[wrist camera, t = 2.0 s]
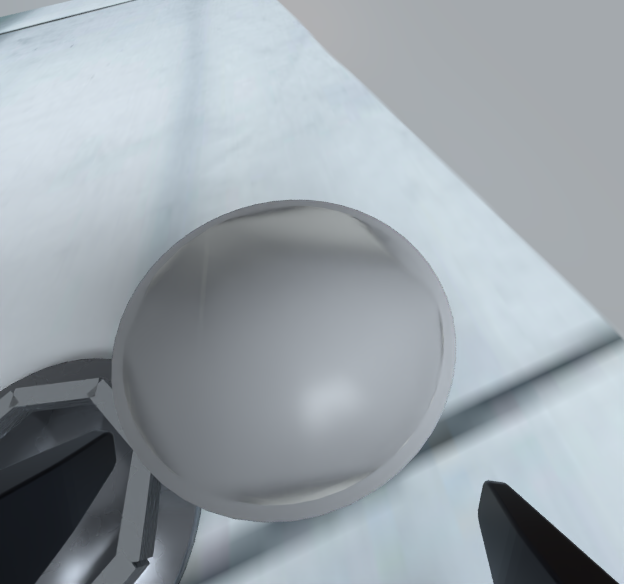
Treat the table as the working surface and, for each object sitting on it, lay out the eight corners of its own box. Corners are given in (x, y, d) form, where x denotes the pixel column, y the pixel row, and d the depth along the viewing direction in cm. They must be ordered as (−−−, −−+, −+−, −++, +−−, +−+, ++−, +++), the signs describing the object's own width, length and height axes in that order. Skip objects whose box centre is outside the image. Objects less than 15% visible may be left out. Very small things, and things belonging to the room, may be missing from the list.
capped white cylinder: (329, 537, 15) (301, 655, 4) (232, 441, 17) (47, 348, 6) (404, 420, 17) (516, 289, 6) (309, 349, 20) (271, 165, 9)
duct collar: (-48, 898, 11) (-121, 973, 9) (-161, 536, 16) (-218, 540, 15) (265, 484, 16) (257, 482, 15) (101, 318, 22) (80, 304, 20)
